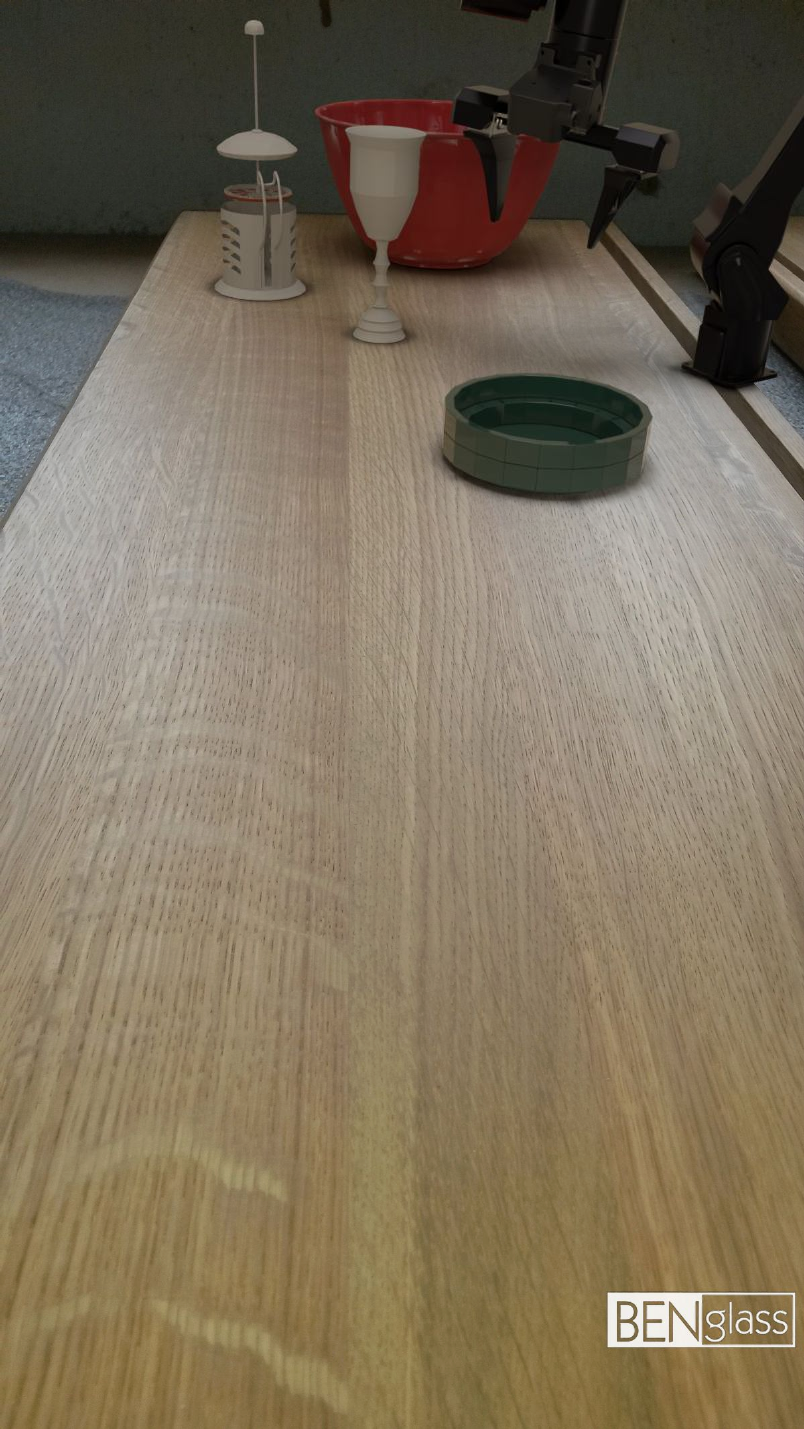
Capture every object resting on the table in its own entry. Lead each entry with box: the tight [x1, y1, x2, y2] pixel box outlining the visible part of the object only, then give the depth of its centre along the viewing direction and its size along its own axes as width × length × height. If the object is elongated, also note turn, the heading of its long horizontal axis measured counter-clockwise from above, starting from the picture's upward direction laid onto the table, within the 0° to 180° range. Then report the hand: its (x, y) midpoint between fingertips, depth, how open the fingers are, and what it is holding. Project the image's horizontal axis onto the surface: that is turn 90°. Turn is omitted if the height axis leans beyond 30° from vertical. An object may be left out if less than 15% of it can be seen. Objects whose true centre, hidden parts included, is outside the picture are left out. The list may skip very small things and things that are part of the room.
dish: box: [441, 372, 654, 495], centre depth 92 cm, size 15×15×4 cm
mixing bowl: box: [314, 98, 563, 270], centre depth 141 cm, size 28×28×15 cm
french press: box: [214, 19, 307, 301], centre depth 123 cm, size 10×12×25 cm
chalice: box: [345, 125, 426, 344], centre depth 113 cm, size 7×7×18 cm
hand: (541, 235), depth 106 cm, fingers open, 9 cm apart
